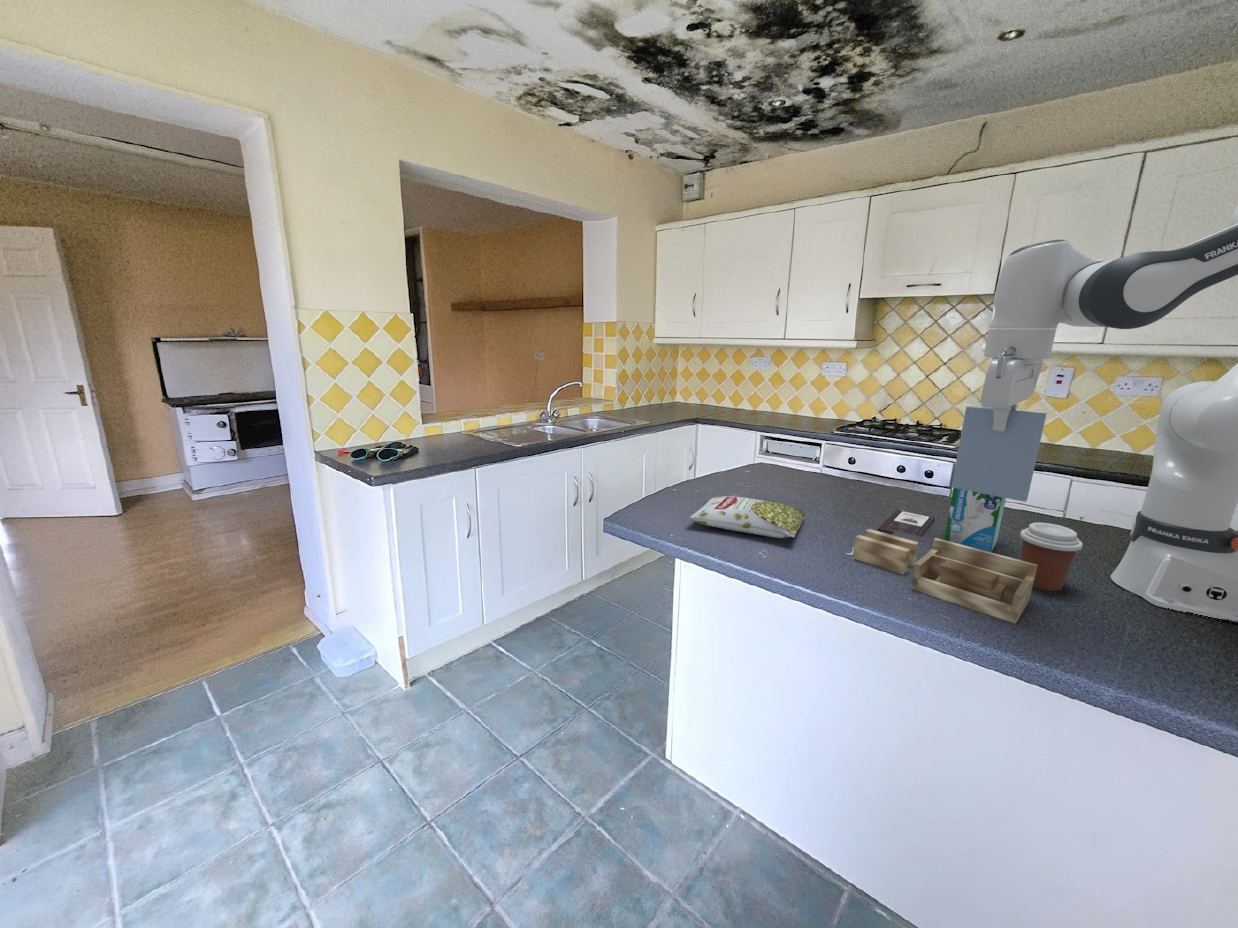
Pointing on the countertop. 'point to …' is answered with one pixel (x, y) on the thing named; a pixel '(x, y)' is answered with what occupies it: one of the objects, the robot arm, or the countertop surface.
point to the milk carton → (974, 519)
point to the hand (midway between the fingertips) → (1001, 429)
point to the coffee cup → (1049, 553)
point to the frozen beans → (750, 516)
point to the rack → (1009, 569)
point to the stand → (885, 551)
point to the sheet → (998, 453)
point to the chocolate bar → (907, 523)
